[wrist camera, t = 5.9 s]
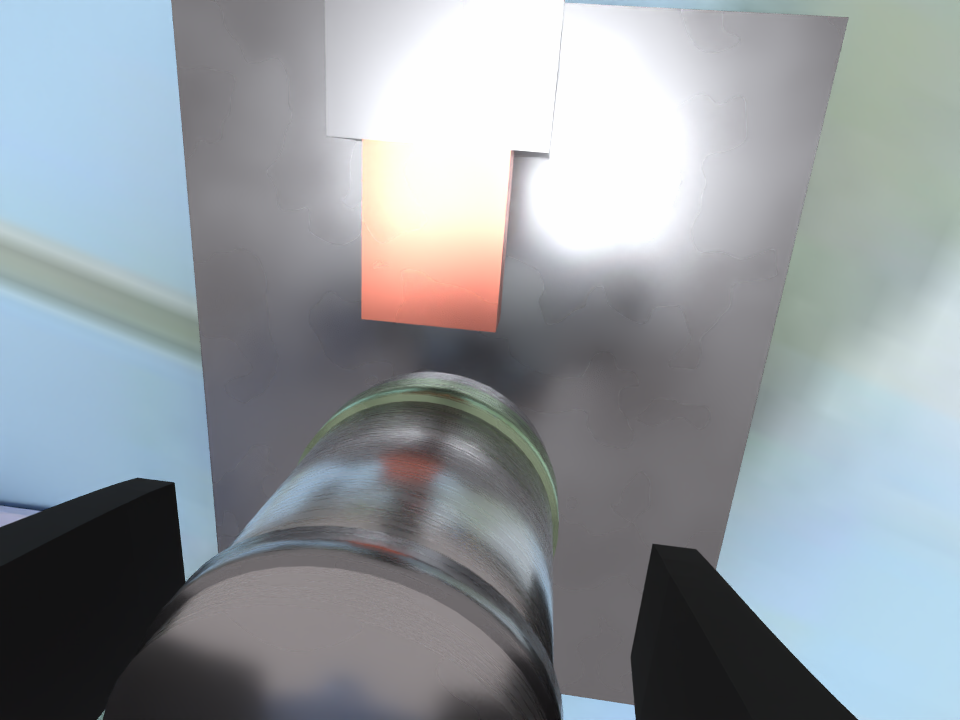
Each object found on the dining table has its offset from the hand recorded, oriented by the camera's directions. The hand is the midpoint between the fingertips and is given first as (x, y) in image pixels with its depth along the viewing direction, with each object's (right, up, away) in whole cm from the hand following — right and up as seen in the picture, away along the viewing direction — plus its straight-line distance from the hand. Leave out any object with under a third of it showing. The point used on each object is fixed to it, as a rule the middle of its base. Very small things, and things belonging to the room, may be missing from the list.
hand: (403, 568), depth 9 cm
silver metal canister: (0, +1, +2) cm, 3 cm away
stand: (+1, +3, +8) cm, 8 cm away
